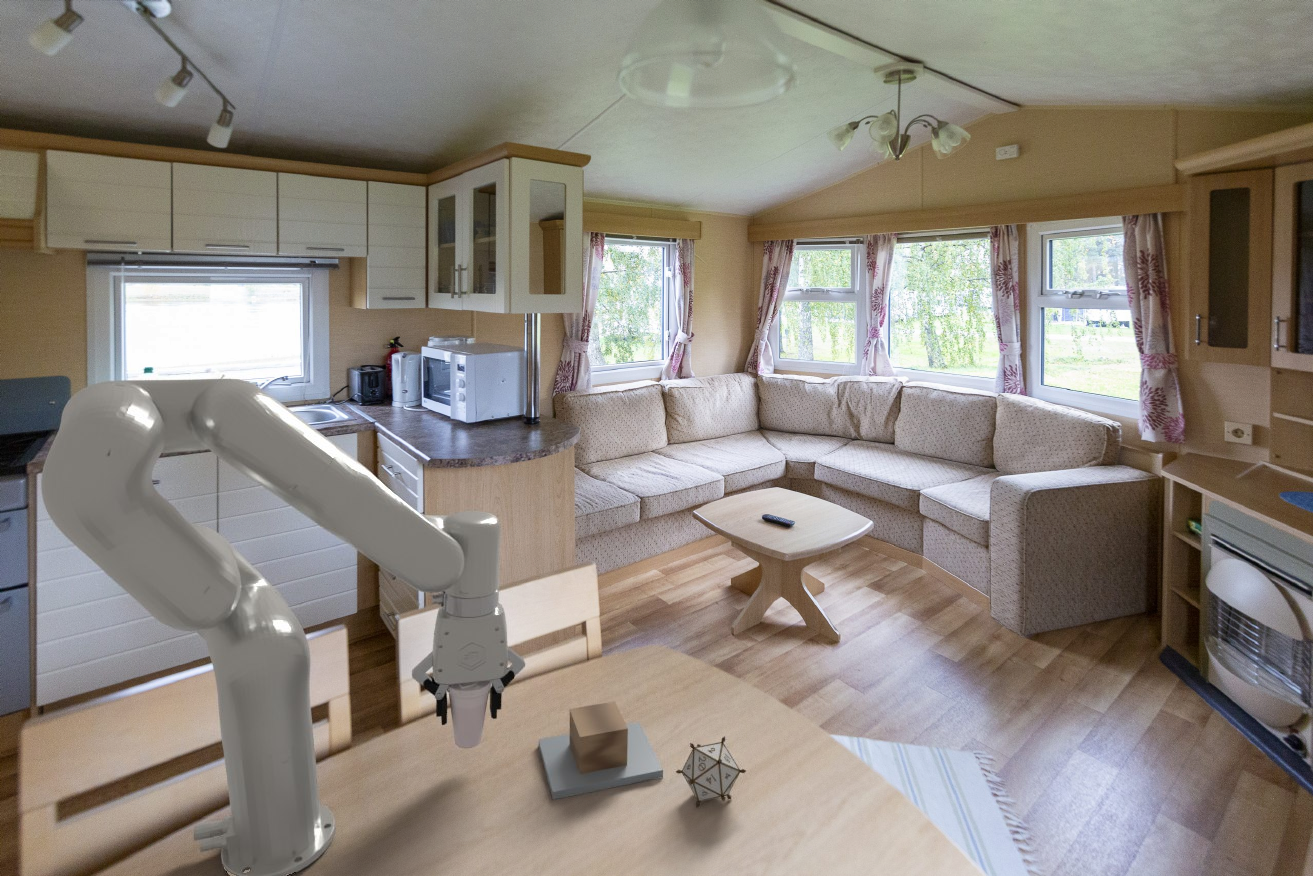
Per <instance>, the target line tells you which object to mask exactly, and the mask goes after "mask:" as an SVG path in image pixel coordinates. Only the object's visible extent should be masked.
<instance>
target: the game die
mask: <svg viewBox="0 0 1313 876" xmlns="http://www.w3.org/2000/svg"><path fill="white" fill-rule="evenodd" d="M726 739H727V738H726V735H725V736H723V737H721V742H720V741H719V742H714V743H709V744H708V743H707V744H703V745H701V744H699V743H697V745H696V746H695V745H694V743H691V742H690V743H689V745H690V746H689V747H690V749H692V750H691V751H690V754H689V755H688V758H687V760H686V762H685V764H684V766H683V767H682V769H677V770H676V771H675V773H677V774H682V776H683V778H684V779H685V782H687V784H688V786H689V788H690V789H691V790H690V791H692V793H693V795H694V797H695V798H696V800H697V801H696V802H695V808H698V807H700V803H701V802H704V801H709V800H713V799H717V798H718V799H719V798H720V799H721V801H723V802H726V799H728V800H730V801H731V800H732V795H731V794H730V792H731V791H732V788H733V787H734V785H735V784H736V783H735V782H736V781H737V779H738V777H739V776H740V773H741V774H745V773H746V772H747V770H746V769H745V768H742V769H740V767H739V766H738V764H737V763H736V761H735V759H734V757H733V756H732V754H731V753H730V751H729V749H728V748H727V746H726V745H725V742H726ZM726 797H727V798H726Z"/></svg>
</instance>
